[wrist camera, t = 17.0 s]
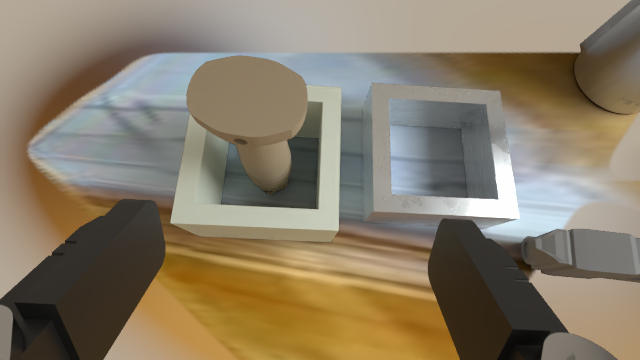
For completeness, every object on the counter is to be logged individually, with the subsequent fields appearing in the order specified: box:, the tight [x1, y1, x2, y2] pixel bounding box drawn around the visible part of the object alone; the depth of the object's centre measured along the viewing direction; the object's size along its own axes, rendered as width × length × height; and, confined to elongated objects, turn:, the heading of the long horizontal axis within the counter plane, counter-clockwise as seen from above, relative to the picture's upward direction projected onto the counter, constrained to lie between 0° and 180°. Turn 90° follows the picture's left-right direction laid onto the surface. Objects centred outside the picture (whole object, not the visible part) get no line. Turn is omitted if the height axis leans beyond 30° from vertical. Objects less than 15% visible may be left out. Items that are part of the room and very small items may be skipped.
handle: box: [187, 56, 308, 194], centre depth 25 cm, size 5×6×15 cm
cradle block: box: [170, 85, 341, 242], centre depth 28 cm, size 12×12×7 cm
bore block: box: [362, 83, 519, 228], centre depth 30 cm, size 12×12×5 cm
